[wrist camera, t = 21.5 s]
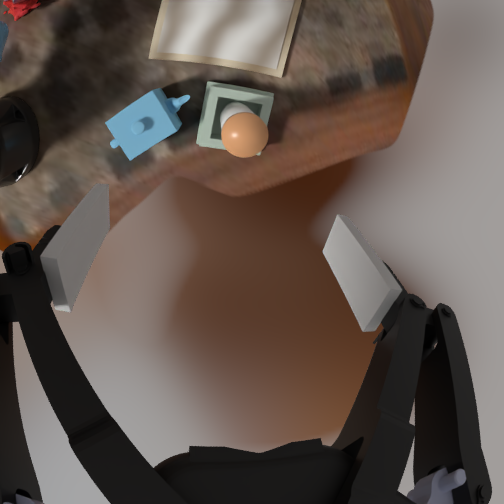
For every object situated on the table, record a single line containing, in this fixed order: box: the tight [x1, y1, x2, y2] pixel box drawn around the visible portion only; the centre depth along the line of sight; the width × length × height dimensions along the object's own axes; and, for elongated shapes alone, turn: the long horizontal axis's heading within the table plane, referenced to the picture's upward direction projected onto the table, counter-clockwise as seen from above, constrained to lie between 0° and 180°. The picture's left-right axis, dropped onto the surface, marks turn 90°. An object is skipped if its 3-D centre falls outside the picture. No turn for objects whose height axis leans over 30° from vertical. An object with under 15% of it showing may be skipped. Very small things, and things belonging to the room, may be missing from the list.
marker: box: [220, 102, 268, 157], centre depth 30 cm, size 4×4×14 cm
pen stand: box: [196, 81, 274, 155], centre depth 35 cm, size 9×9×4 cm
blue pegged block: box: [105, 88, 190, 160], centre depth 32 cm, size 12×6×8 cm, turn 116°
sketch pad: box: [149, 0, 302, 78], centre depth 27 cm, size 18×14×1 cm
